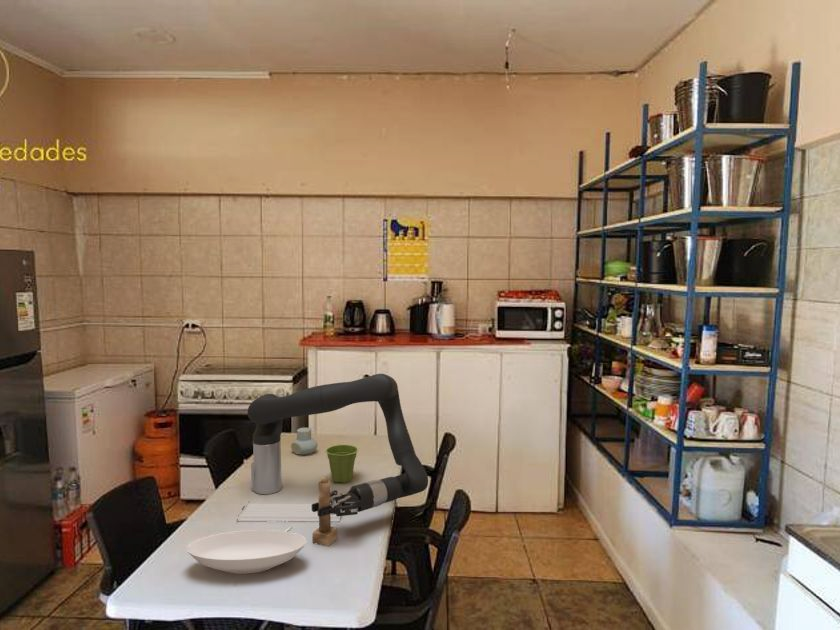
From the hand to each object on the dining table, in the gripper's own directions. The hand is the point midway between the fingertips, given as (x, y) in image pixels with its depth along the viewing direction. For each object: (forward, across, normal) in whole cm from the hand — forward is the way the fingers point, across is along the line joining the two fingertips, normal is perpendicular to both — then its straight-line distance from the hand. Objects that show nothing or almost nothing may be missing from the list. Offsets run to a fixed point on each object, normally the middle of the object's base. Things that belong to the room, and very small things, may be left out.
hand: (315, 510), depth 148 cm
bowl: (+19, 0, +10) cm, 22 cm away
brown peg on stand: (-3, 0, +10) cm, 10 cm away
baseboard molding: (-2, -20, +10) cm, 23 cm away
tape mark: (+5, -11, +10) cm, 16 cm away
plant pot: (-28, -37, +10) cm, 47 cm away
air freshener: (-29, -72, +10) cm, 78 cm away
